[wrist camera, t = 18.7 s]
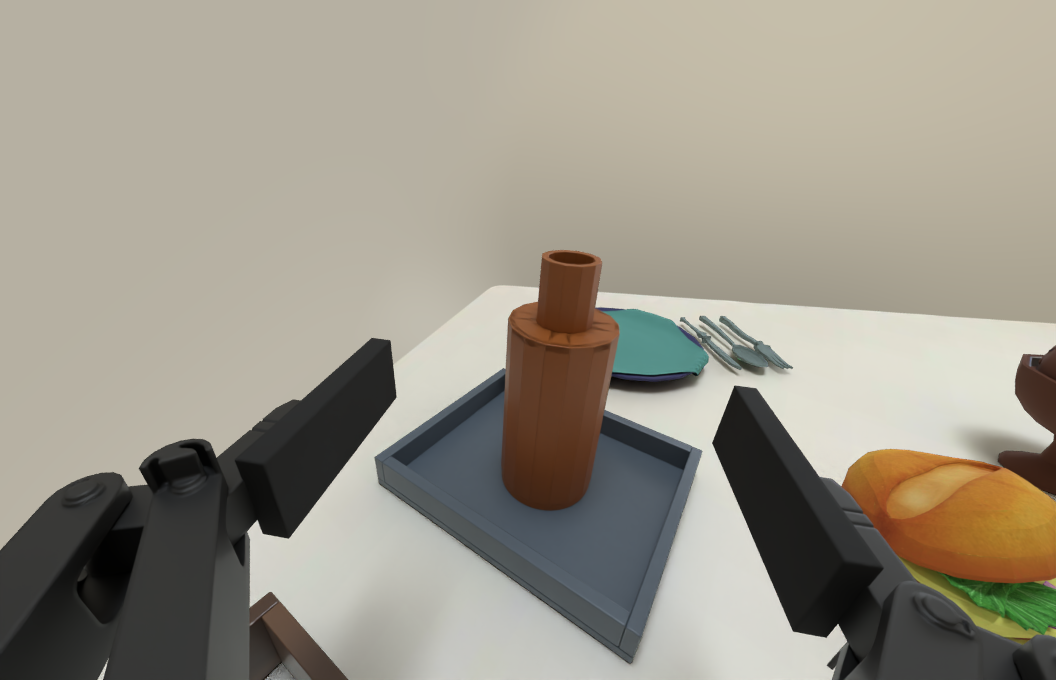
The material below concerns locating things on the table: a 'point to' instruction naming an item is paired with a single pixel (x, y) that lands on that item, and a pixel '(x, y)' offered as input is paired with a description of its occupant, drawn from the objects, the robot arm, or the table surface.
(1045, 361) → the ice cream bowl
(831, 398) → the table surface
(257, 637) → the tray
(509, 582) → the table surface
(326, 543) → the table surface
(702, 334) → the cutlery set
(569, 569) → the tray
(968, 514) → the cheeseburger
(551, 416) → the bottle
